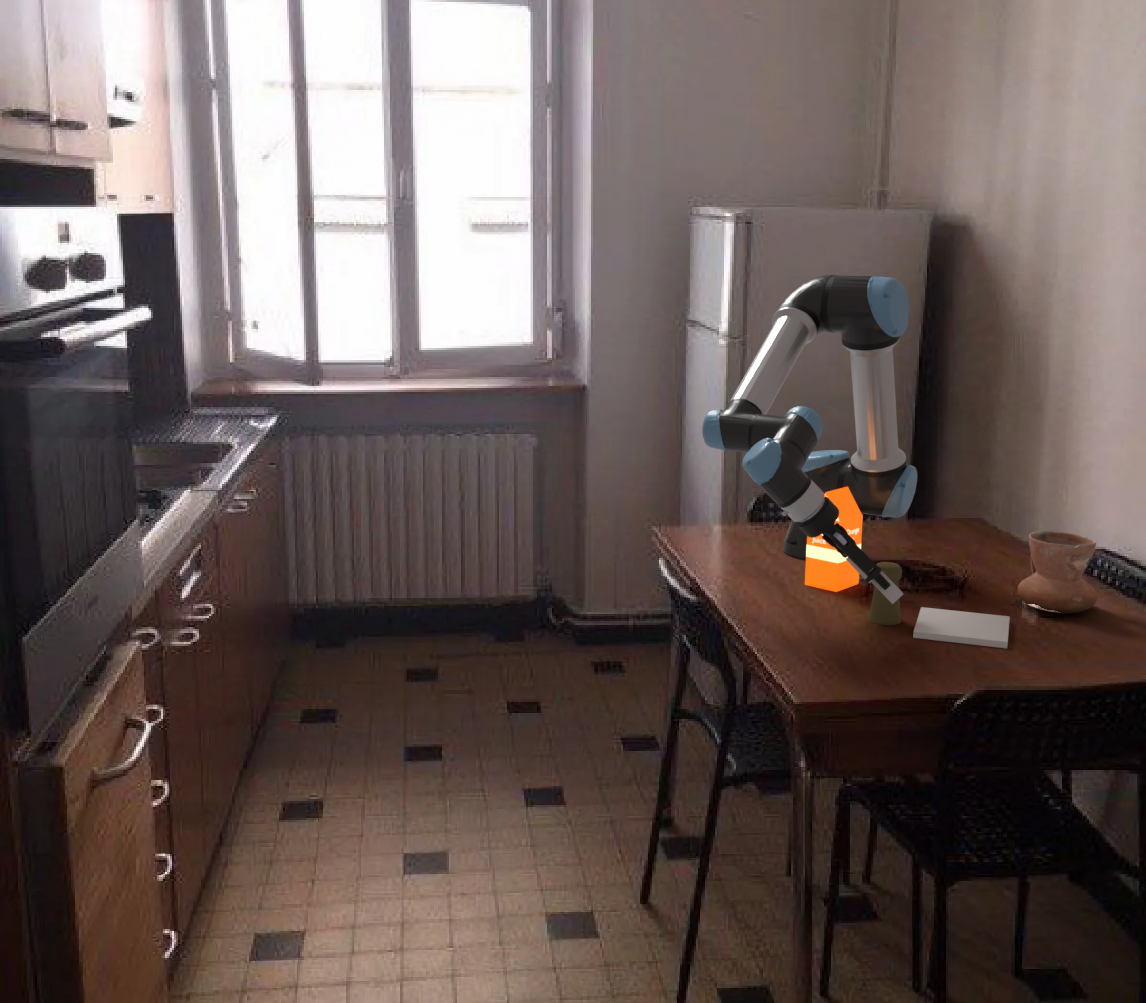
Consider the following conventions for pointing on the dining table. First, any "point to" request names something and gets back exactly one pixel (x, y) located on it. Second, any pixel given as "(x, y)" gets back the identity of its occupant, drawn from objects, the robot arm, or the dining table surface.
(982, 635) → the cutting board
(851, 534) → the orange juice
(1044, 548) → the ceramic jug
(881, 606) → the cork
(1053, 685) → the dining table surface
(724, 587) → the dining table surface
